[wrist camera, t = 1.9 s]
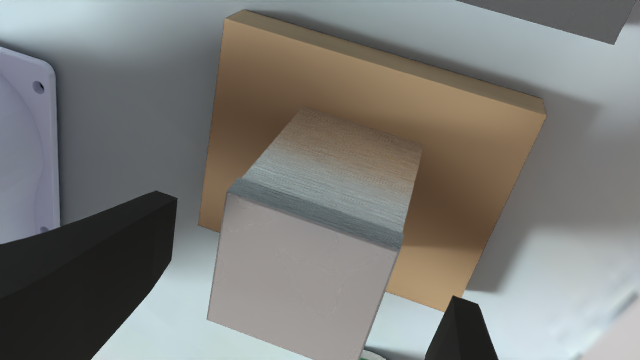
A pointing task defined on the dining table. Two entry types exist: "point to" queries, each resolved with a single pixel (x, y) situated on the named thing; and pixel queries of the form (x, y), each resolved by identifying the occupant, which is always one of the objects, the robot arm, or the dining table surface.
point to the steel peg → (314, 236)
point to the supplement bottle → (370, 356)
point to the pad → (385, 115)
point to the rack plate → (568, 14)
